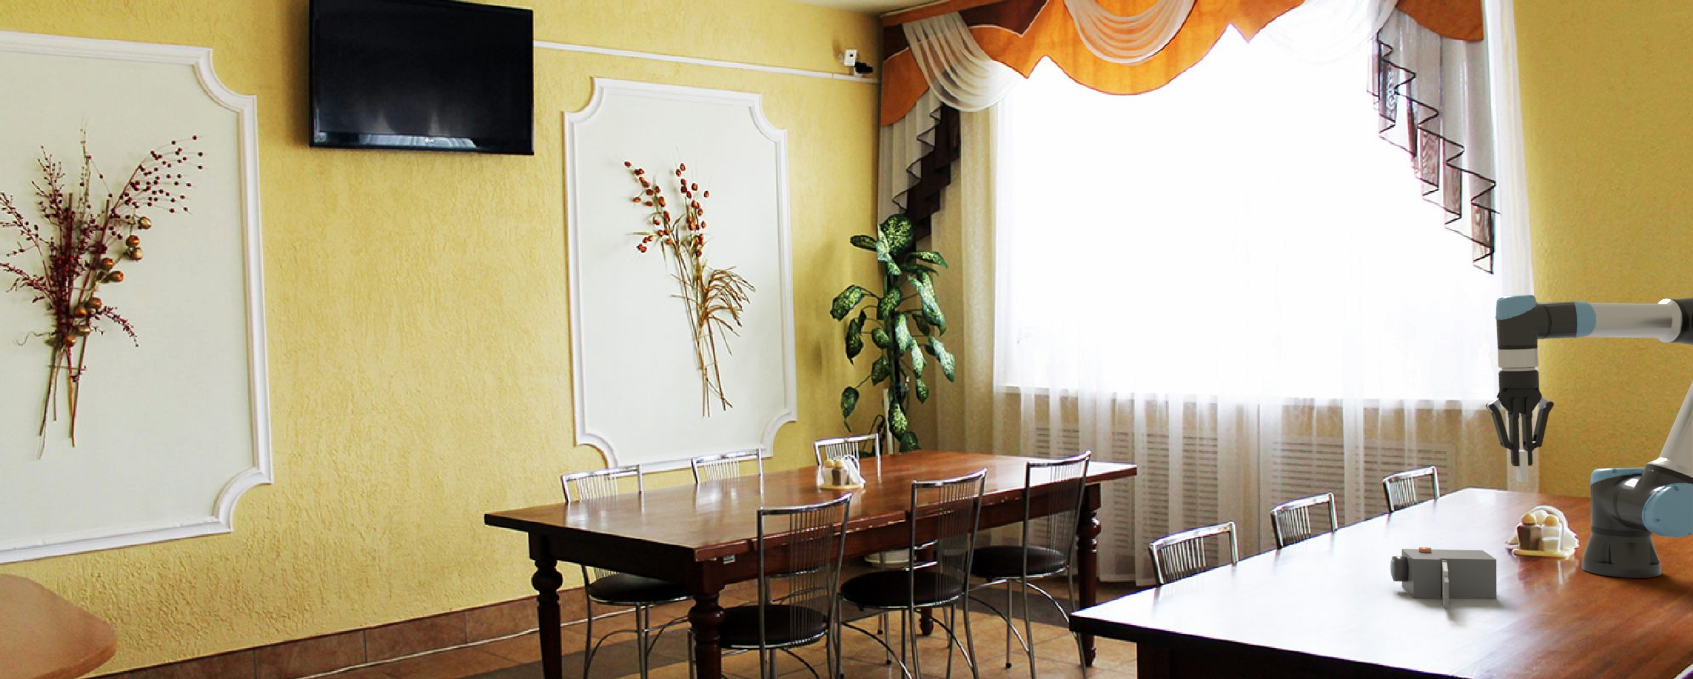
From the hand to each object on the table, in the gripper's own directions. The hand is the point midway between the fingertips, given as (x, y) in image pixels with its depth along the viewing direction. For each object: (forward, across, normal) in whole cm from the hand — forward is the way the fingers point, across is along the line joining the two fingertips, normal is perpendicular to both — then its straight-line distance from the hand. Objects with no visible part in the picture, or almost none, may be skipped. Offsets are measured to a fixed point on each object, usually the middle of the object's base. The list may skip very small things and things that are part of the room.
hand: (1522, 481), depth 277 cm
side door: (+21, +21, +19) cm, 36 cm away
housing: (+22, +19, +6) cm, 29 cm away
